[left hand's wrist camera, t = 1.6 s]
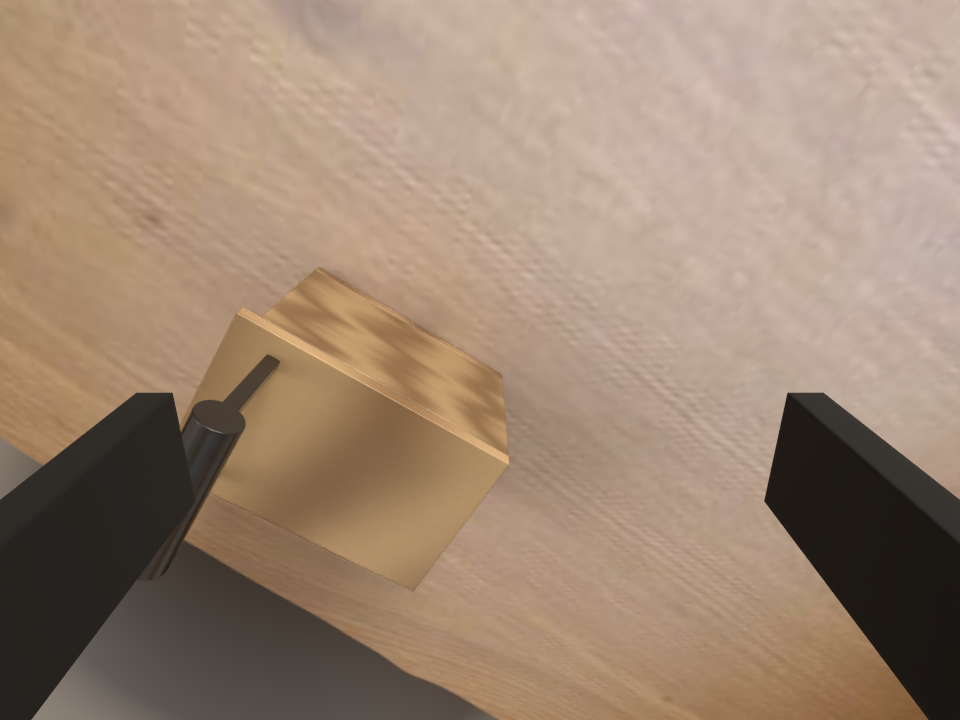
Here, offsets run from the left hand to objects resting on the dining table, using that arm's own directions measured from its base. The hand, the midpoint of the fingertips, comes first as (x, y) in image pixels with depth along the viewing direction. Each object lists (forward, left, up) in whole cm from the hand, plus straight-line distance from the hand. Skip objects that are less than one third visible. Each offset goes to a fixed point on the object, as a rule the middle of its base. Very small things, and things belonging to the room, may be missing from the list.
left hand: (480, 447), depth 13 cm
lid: (+2, -12, -15) cm, 19 cm away
